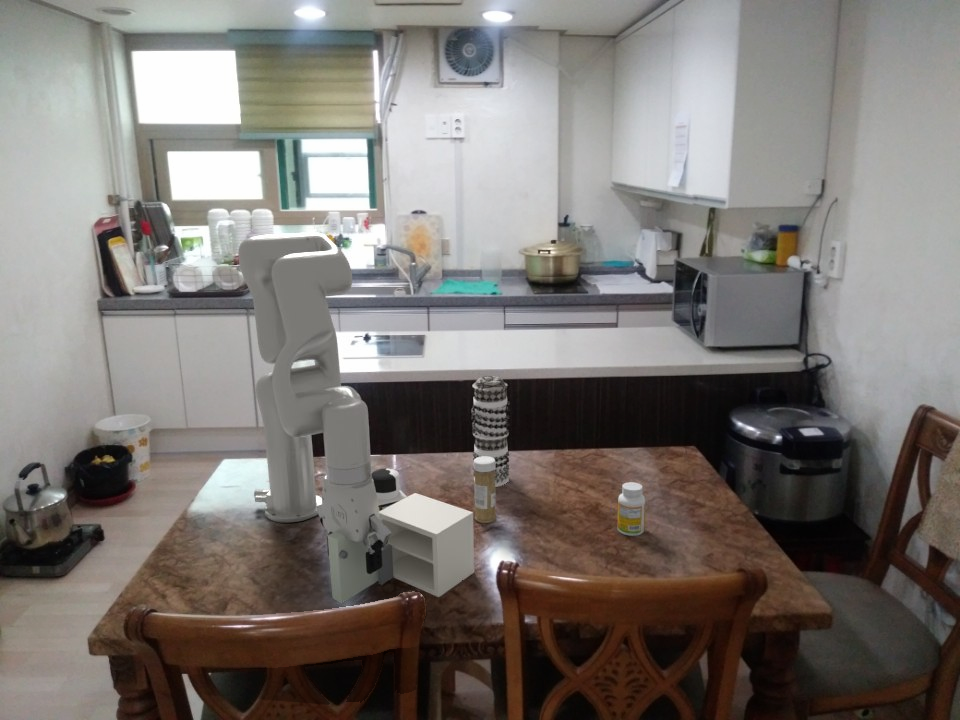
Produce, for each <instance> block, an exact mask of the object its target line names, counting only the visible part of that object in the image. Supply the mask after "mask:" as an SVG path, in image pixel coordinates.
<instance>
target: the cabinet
mask: <svg viewBox="0 0 960 720" xmlns="http://www.w3.org/2000/svg"><path fill="white" fill-rule="evenodd" d="M379 518H380V521H381V522H382V523H383V524H384V525H385V526H386V527H387V528H388V529H389V530H390V532H391V534H390V537H389V539H388V543H387V544H386V545H385V546H384V547H383V548H381V549H382V567H381V568H380V569H378V581H377V582H378V584H379V585H381V586H382V585H384V584H386V583H387V582H388V581H390V580H392V579H396V580H399V581H401V582H403V583H405V584H407V585H409V586H412V587H415V588H417V589H419V590H421V591H424V592H425V593H429V594H430V595H433V596H434V597H437V598H440V597H441V596H443V595H444V594H446V593H447V592H448V591H450V590H451V589H452V588H454V587H455V586H457V585H458V584H460V583H461V582H463V581H464V580H465V579H467V578H469V577H470V576H471V575H473V574H474V573H475V548H474V547H475V545H474V544H475V543H474V537H475V536H474V512H473V511H472V510H471V511H470V510H467V509H465V508H462V507H459V506H456V505H452V504H449V503H446V502H443V501H440V500H439V499H434V498H431V497H428V496H425V495H422V494H419V493H417V492H414V493H412V494H410V495H408V496H407V497H406V498H404V499H402V500H400V501H398V502H397V503H395V504H393V505H391V506H389V507H387V508H385V509H383V510H381V511H379ZM462 580H463V581H462Z"/></svg>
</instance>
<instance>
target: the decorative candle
mask: <svg viewBox="0 0 960 720" xmlns="http://www.w3.org/2000/svg"><path fill="white" fill-rule="evenodd" d="M507 387H508V383H506V382H504V380H503V378H501V377H499V376H494V375H485V376H481V377H479V378H478V379H476V380H475V382H474V383H473V384H472V388H473V405H472V406H471V407H472V408H471V409H470V411H471V412H470V414H471V418H470V419H471V421H473V422H472V423H471V425H472V426H471V428H472V429H471V430H472V432H471V433H472V435H473V437H474V445H473V446H474V447H473V448H474V449H473V450H474V451H473V452H472V456H473V458H472V460H473V462H472V463H474V459H475V458H477V457H481V456H488V457H492V458H494V459H495V463H496V468H495V488H496V487H498V488H499V487H502V485H503V486H505V485H506V483H507V482H508V483H509V482H510V477H509V476H510V471H509V470H510V465H509V464H508V463H509V462H510V458H509V456H510V452H509V451H508V449H509V448H508V446H509V445H508V436H509V433H510V431H509V429H507V428H509V426H510V422H509V420H511V418H510V415H508V414H507V413H509V412H511V408H510V407H509V406H510V405H511V401H510V400H508V396H507ZM472 470H473V472H472V473H473V482H475V471H474V464H473V466H472ZM508 483H507V484H508ZM504 484H505V485H504Z"/></svg>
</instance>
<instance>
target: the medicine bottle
mask: <svg viewBox="0 0 960 720" xmlns="http://www.w3.org/2000/svg"><path fill="white" fill-rule="evenodd" d="M371 472H372V478H371V479H373V481H374V485H375V490H376V495H377V500H378V507H379V511H381V510H383V509H385V508H387V507H389V506H391V505H393V504H395V503H397V502H398V501H400V500H402V499H404V498H406V497H408V496H407V495H406V494H405V493H404V492H403V491H402V490H401V483H400V482H401V480H400V479H401V478H400V473H399V471H397V470H395V469H392V468H380V469H376V470H375V471H371Z"/></svg>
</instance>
